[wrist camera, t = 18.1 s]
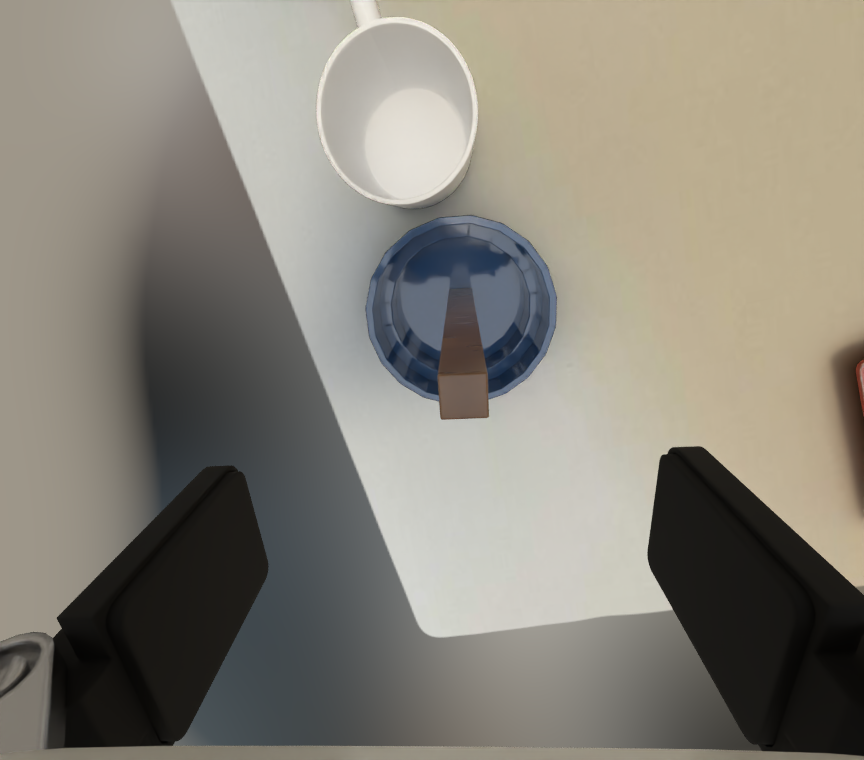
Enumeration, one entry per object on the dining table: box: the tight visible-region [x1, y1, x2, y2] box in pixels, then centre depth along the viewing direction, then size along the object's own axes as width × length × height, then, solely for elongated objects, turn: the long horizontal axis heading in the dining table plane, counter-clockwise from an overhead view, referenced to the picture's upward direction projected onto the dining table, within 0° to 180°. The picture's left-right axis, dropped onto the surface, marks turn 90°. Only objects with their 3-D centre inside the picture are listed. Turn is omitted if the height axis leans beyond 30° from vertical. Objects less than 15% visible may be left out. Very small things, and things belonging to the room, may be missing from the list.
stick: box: [437, 288, 489, 420], centre depth 25 cm, size 2×2×20 cm
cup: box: [316, 0, 478, 209], centre depth 26 cm, size 8×12×10 cm
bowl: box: [366, 215, 557, 401], centre depth 32 cm, size 13×13×6 cm
